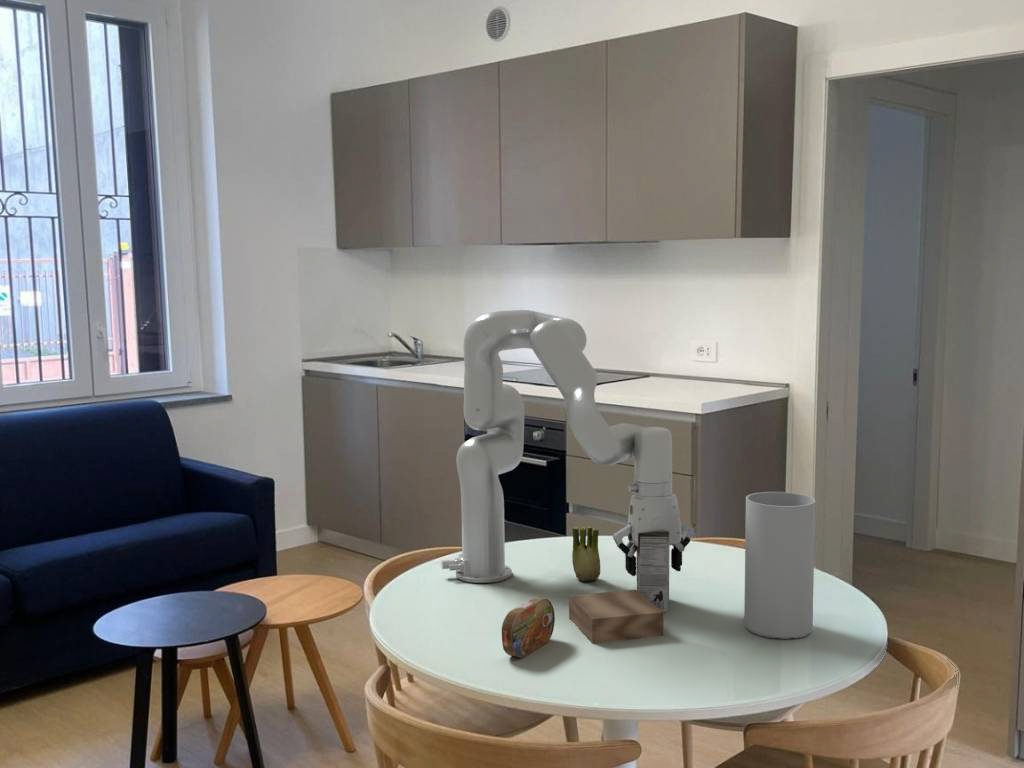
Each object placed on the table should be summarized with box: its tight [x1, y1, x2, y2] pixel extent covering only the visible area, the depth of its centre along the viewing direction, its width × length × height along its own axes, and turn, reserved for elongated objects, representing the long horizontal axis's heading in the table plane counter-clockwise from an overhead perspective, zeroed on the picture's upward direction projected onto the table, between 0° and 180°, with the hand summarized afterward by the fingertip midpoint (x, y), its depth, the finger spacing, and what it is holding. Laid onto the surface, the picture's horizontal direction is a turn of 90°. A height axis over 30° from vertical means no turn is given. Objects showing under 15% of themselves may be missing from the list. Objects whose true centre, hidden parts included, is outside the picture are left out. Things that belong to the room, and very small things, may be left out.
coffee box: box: [636, 531, 671, 613], centre depth 206 cm, size 9×6×16 cm
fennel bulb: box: [571, 526, 601, 583], centre depth 224 cm, size 6×5×12 cm
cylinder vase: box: [743, 491, 816, 640], centre depth 191 cm, size 12×12×25 cm
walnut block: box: [568, 589, 665, 645], centre depth 194 cm, size 14×14×5 cm
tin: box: [501, 597, 556, 659], centre depth 183 cm, size 15×3×8 cm, turn 148°
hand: (654, 571), depth 206 cm, fingers open, 9 cm apart
